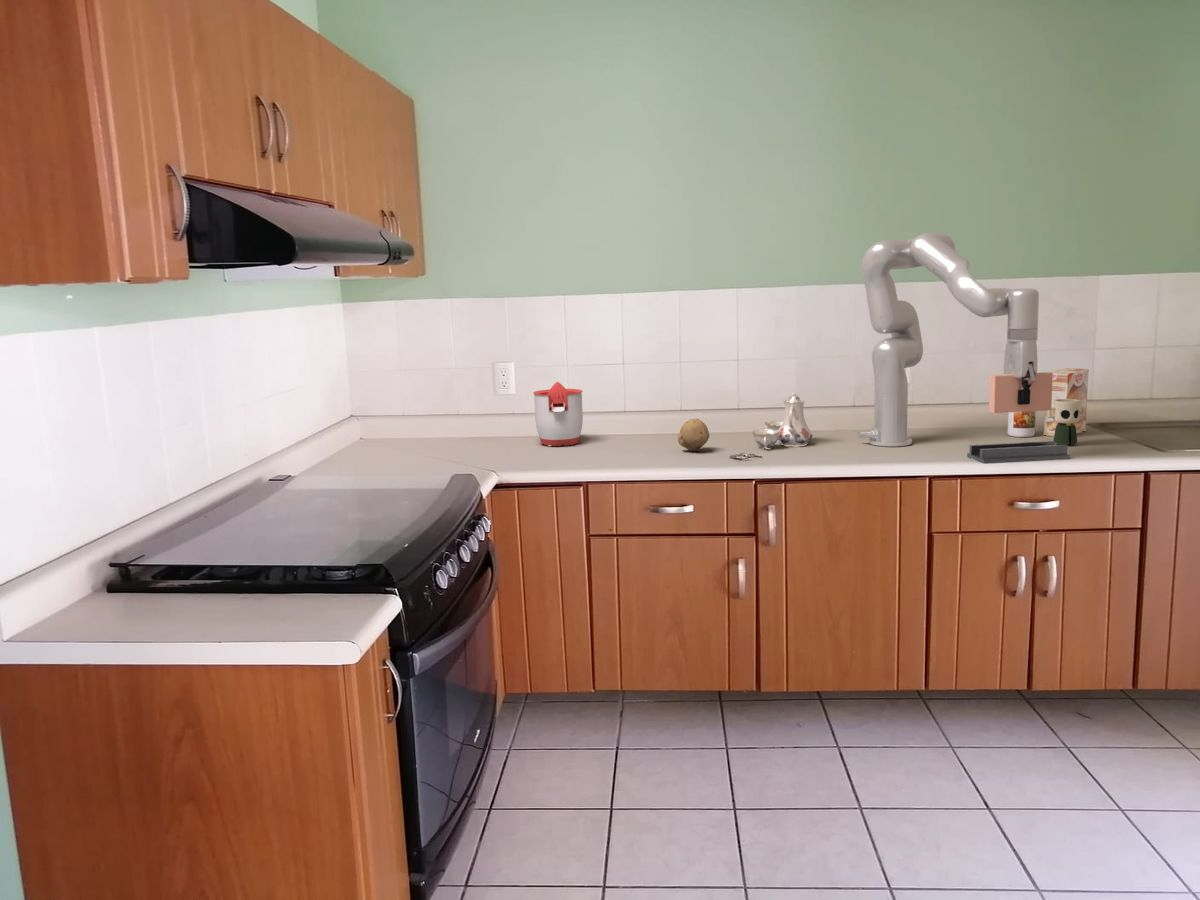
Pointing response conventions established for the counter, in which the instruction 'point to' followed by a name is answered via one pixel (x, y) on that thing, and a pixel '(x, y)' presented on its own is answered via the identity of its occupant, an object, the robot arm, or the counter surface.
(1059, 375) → the coffeecake box
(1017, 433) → the milk bottle
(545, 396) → the citrus juicer
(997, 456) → the door track
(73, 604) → the counter surface
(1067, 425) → the character mug
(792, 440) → the chinaware
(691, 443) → the brown round lump
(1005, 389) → the door panel
